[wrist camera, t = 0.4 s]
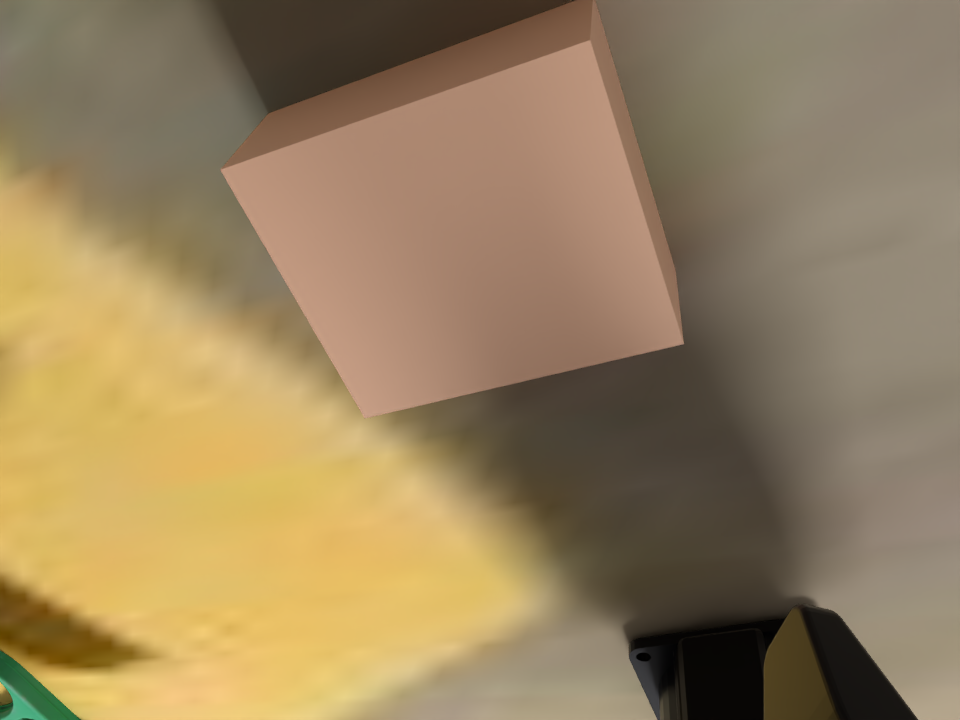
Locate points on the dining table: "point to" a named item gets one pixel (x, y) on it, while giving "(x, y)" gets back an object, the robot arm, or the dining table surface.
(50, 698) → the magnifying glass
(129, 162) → the dining table surface
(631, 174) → the terracotta block
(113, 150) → the dining table surface
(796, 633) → the robot arm
